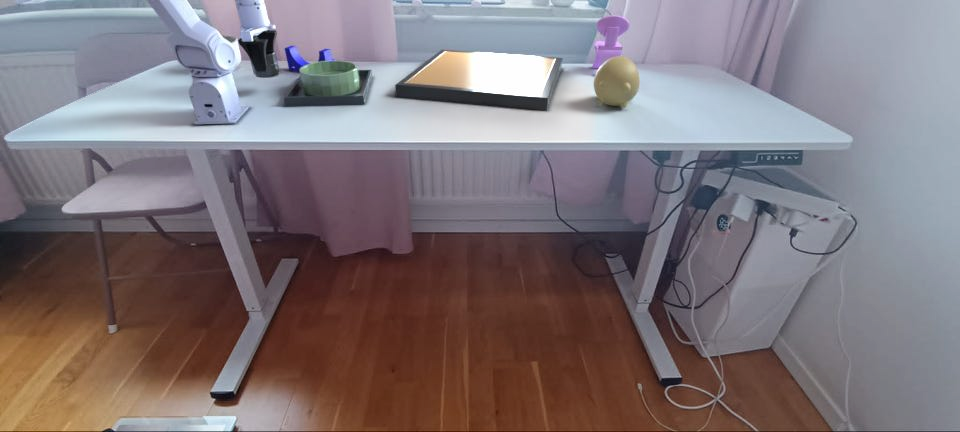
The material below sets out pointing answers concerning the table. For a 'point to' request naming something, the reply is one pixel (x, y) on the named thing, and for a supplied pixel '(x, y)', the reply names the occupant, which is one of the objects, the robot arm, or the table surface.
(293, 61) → the blue curved stand
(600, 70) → the toy pig
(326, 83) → the sage bowl
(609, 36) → the purple tall piece
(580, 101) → the table surface
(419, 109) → the table surface
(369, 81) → the tray
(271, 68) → the black cup
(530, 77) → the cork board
